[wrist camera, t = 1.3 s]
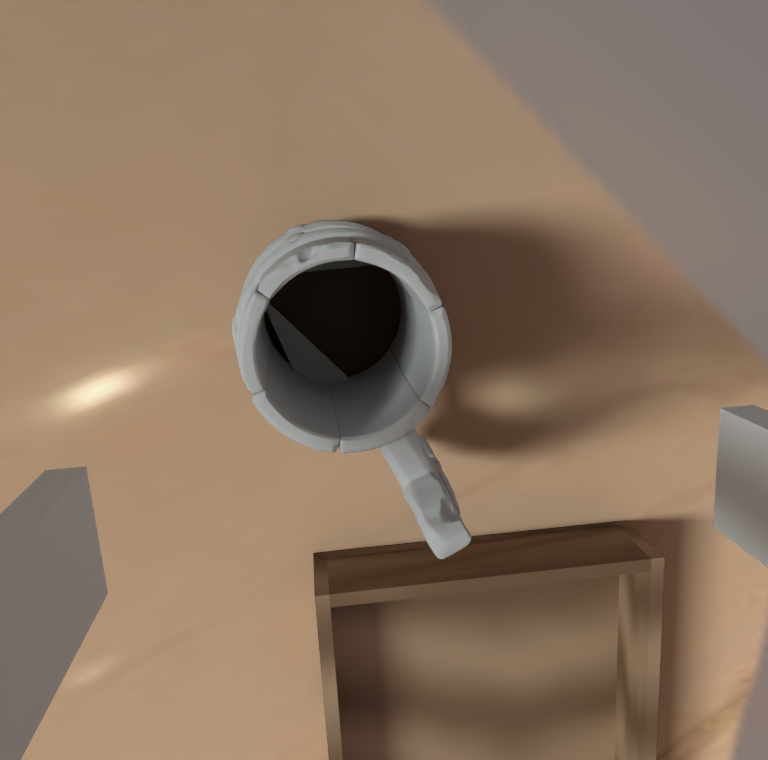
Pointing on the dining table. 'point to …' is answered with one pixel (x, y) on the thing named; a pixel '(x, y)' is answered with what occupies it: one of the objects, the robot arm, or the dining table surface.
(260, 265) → the mug
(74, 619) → the robot arm
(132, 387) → the dining table surface
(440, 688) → the wooden tray
